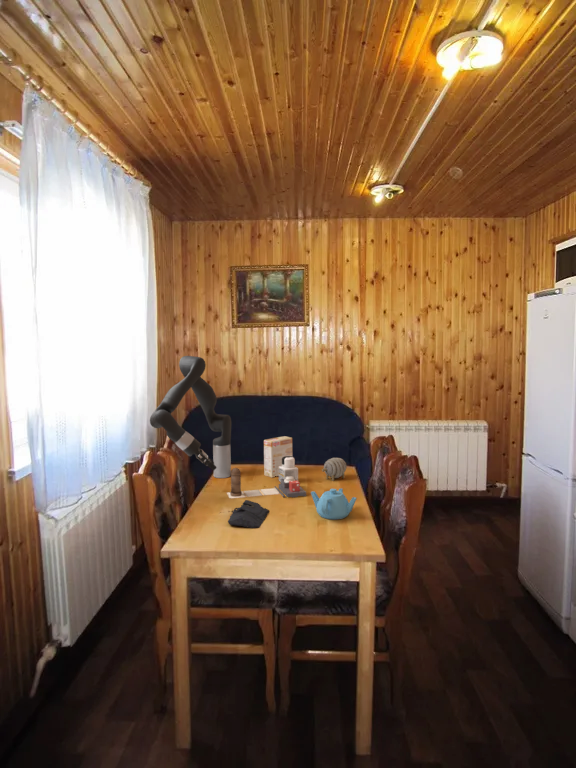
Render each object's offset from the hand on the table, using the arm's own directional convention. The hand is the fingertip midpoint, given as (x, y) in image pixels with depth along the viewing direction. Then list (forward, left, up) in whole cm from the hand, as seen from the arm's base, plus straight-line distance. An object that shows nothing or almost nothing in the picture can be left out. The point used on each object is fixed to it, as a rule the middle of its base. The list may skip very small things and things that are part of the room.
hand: (213, 466), depth 220 cm
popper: (0, +37, -15) cm, 40 cm away
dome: (-4, +37, -13) cm, 39 cm away
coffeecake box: (-33, +39, -15) cm, 53 cm away
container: (-17, +40, -15) cm, 46 cm away
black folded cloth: (+28, +10, -16) cm, 33 cm away
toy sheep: (-15, +64, -15) cm, 68 cm away
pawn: (0, +10, -14) cm, 17 cm away
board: (0, +18, -15) cm, 23 cm away
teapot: (+34, +45, -15) cm, 58 cm away
